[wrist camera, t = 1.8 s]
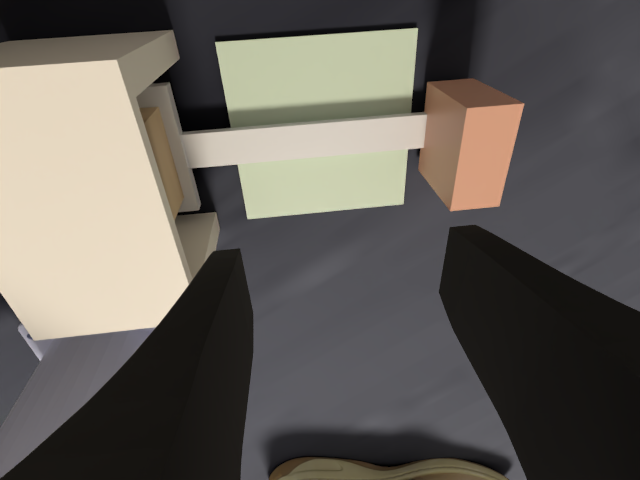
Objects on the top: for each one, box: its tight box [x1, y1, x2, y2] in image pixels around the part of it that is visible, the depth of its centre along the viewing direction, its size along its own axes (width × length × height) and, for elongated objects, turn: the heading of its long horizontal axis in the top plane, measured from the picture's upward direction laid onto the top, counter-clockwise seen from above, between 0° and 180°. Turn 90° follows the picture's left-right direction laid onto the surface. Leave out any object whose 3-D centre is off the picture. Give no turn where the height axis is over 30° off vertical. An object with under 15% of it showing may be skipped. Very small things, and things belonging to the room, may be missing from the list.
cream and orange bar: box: [136, 78, 524, 212], centre depth 15 cm, size 18×6×4 cm, turn 93°
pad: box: [215, 28, 418, 219], centre depth 17 cm, size 8×8×1 cm
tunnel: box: [0, 30, 220, 341], centre depth 14 cm, size 6×9×6 cm, turn 3°
